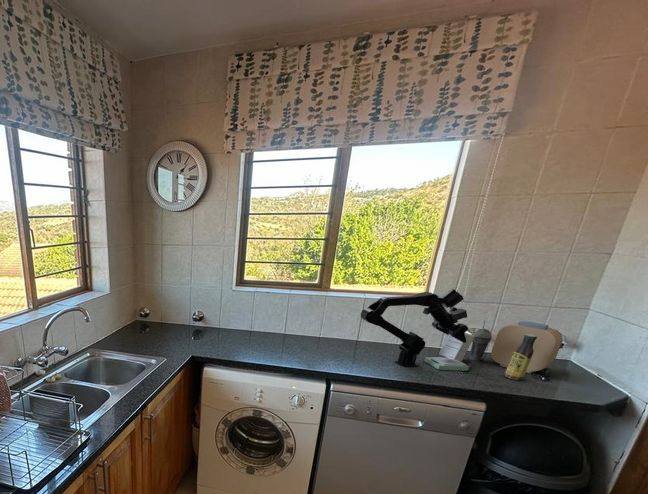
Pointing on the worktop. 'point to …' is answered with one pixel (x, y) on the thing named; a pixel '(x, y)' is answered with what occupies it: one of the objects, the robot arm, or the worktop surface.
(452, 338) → the white packaging box
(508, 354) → the beige toaster
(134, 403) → the worktop surface
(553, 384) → the worktop surface
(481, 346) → the beverage cup
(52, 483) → the worktop surface
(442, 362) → the kitchen scale
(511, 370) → the sauce bottle
